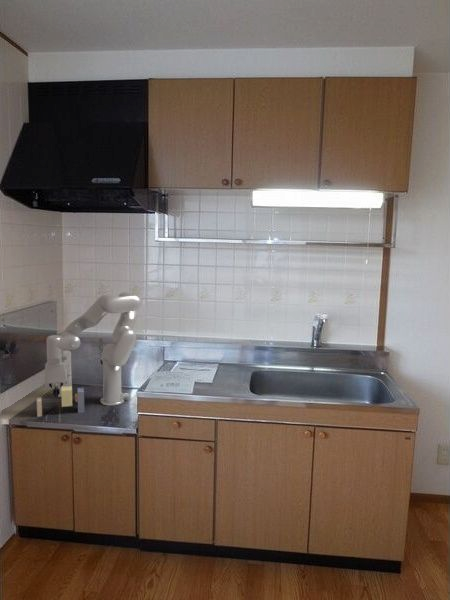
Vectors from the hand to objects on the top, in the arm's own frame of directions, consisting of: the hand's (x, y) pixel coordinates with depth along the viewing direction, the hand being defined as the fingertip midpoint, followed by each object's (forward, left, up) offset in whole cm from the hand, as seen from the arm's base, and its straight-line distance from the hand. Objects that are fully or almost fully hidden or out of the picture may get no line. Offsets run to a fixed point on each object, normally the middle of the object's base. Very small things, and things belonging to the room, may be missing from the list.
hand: (56, 395), depth 223 cm
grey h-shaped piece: (-2, 0, -9) cm, 9 cm away
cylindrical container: (-4, -22, -9) cm, 24 cm away
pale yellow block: (-5, 0, -5) cm, 7 cm away
